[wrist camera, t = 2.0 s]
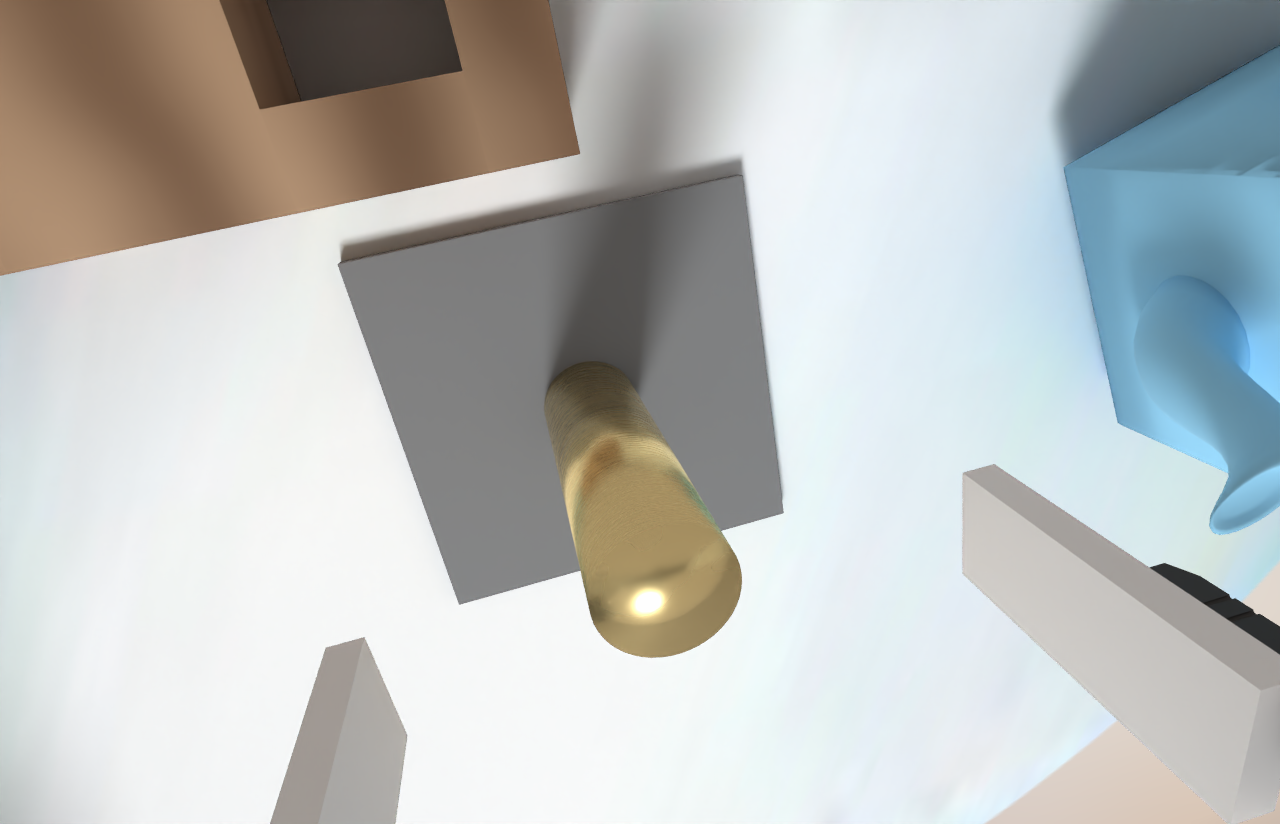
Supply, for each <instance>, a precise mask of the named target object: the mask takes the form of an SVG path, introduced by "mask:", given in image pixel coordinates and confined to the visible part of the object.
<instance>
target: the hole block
mask: <svg viewBox="0 0 1280 824" xmlns="http://www.w3.org/2000/svg"><path fill="white" fill-rule="evenodd" d="M444 1H445V4H446V8H447V12H448V16H449V20H450V24H451V28H452V31H453V35H454V39H455V43H456V47H457V51H458V55H459V59H460V62H461V66H462V70H463V71H459V72H454V73H448V74H443V75H438V76H433V77H428V78H422V79H417V80H412V81H407V82H401V83H396V84H391V85H386V86H380V87H375V88H370V89H365V90H360V91H354V92H349V93H344V94H339V95H333V96H328V97H323V98H318V99H313V100H307V101H302V102H301V100H300V97H299V94H298V91H297V88H296V85H295V82H294V79H293V76H292V74H291V71H290V68H289V65H288V62H287V59H286V56H285V53H284V50H283V48H282V45H281V42H280V39H279V36H278V33H277V30H276V27H275V24H274V22H273V19H272V16H271V13H270V10H269V7H268V4H267V1H266V0H0V276H1V275H5V274H10V273H15V272H20V271H24V270H29V269H34V268H39V267H44V266H48V265H53V264H58V263H63V262H67V261H72V260H77V259H82V258H86V257H91V256H96V255H101V254H106V253H110V252H115V251H120V250H125V249H129V248H134V247H139V246H144V245H148V244H153V243H158V242H163V241H168V240H172V239H177V238H182V237H187V236H191V235H196V234H201V233H206V232H210V231H215V230H220V229H225V228H229V227H234V226H239V225H244V224H249V223H253V222H258V221H263V220H268V219H272V218H277V217H282V216H287V215H291V214H296V213H301V212H306V211H311V210H315V209H320V208H325V207H330V206H334V205H339V204H344V203H349V202H353V201H358V200H363V199H368V198H372V197H377V196H382V195H387V194H392V193H396V192H401V191H406V190H411V189H415V188H420V187H425V186H430V185H434V184H439V183H444V182H449V181H454V180H458V179H463V178H468V177H473V176H477V175H482V174H487V173H492V172H496V171H501V170H506V169H511V168H516V167H520V166H525V165H530V164H535V163H539V162H544V161H549V160H554V159H558V158H563V157H568V156H573V155H577V154H580V151H579V146H578V141H577V136H576V132H575V127H574V122H573V117H572V112H571V107H570V103H569V98H568V93H567V88H566V83H565V78H564V74H563V69H562V64H561V59H560V54H559V49H558V45H557V40H556V35H555V30H554V25H553V20H552V16H551V11H550V6H549V1H548V0H444Z"/></svg>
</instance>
